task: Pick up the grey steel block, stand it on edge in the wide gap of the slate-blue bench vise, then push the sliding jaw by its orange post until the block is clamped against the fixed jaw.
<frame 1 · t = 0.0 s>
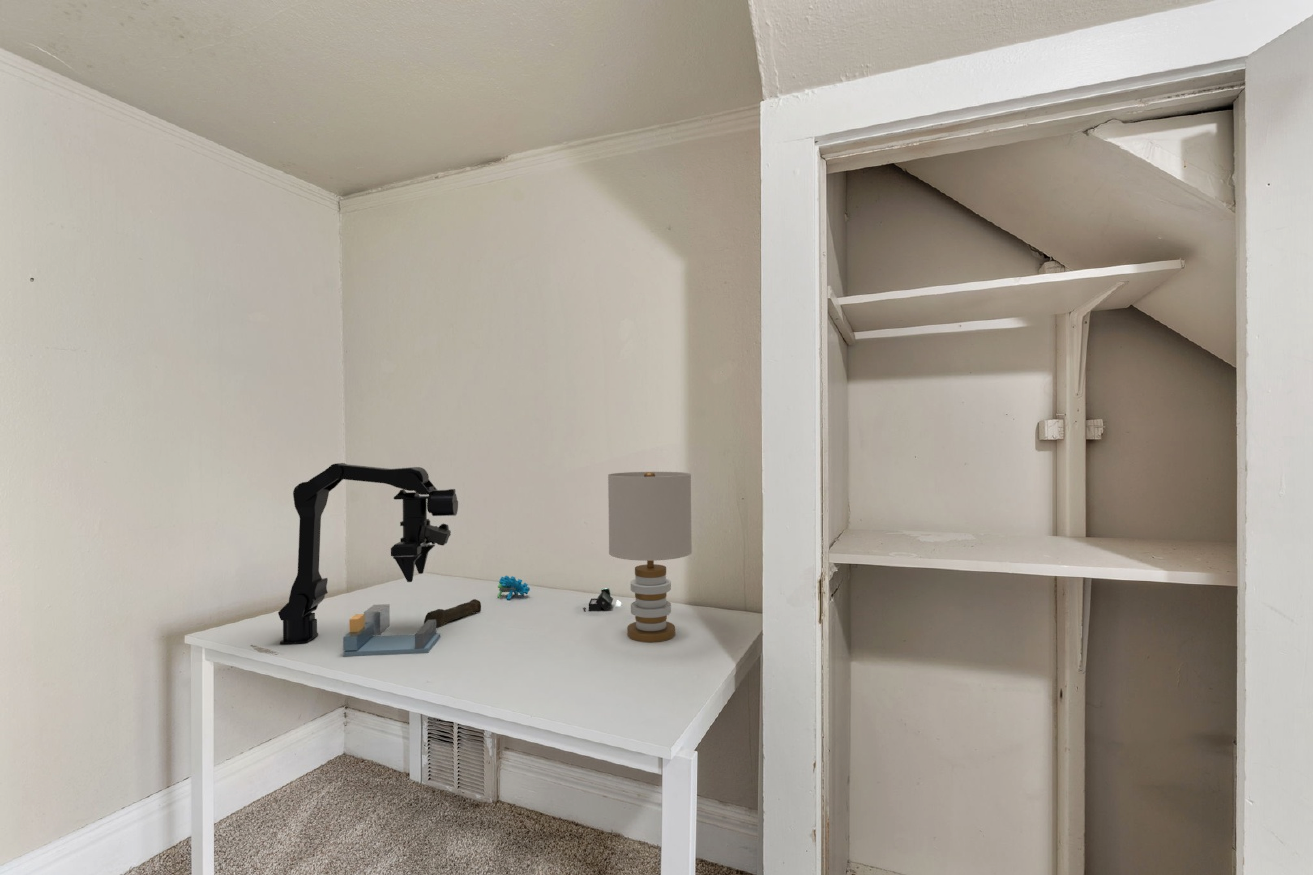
hand: (415, 577, 154), 15 cm above the table, tool pointing down, fingers open, 9 cm apart
brown wooden stick: (453, 622, 165), on the table
black angled gadget: (599, 610, 176), on the table
lamp: (651, 634, 152), on the table
steel block: (377, 631, 158), on the table
vise: (394, 646, 145), on the table
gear: (513, 598, 189), on the table
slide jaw: (359, 629, 145), point 4 cm above the table, slide at 0.0 cm
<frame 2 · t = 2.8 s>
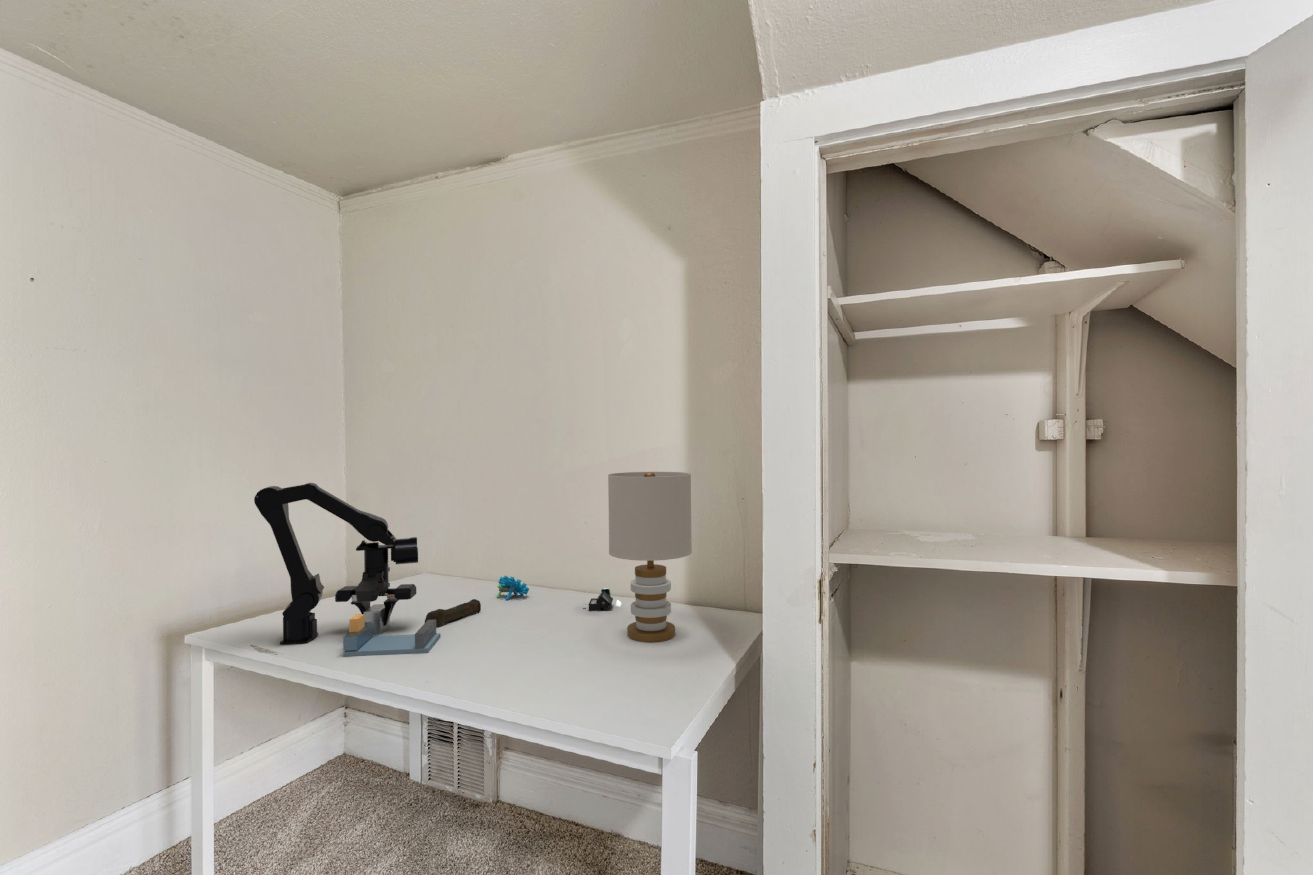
hand: (377, 625, 158), 1 cm above the table, tool pointing down, fingers closed on steel block, 4 cm apart
steel block: (377, 630, 158), on the table, touching gripper
everything else where it was.
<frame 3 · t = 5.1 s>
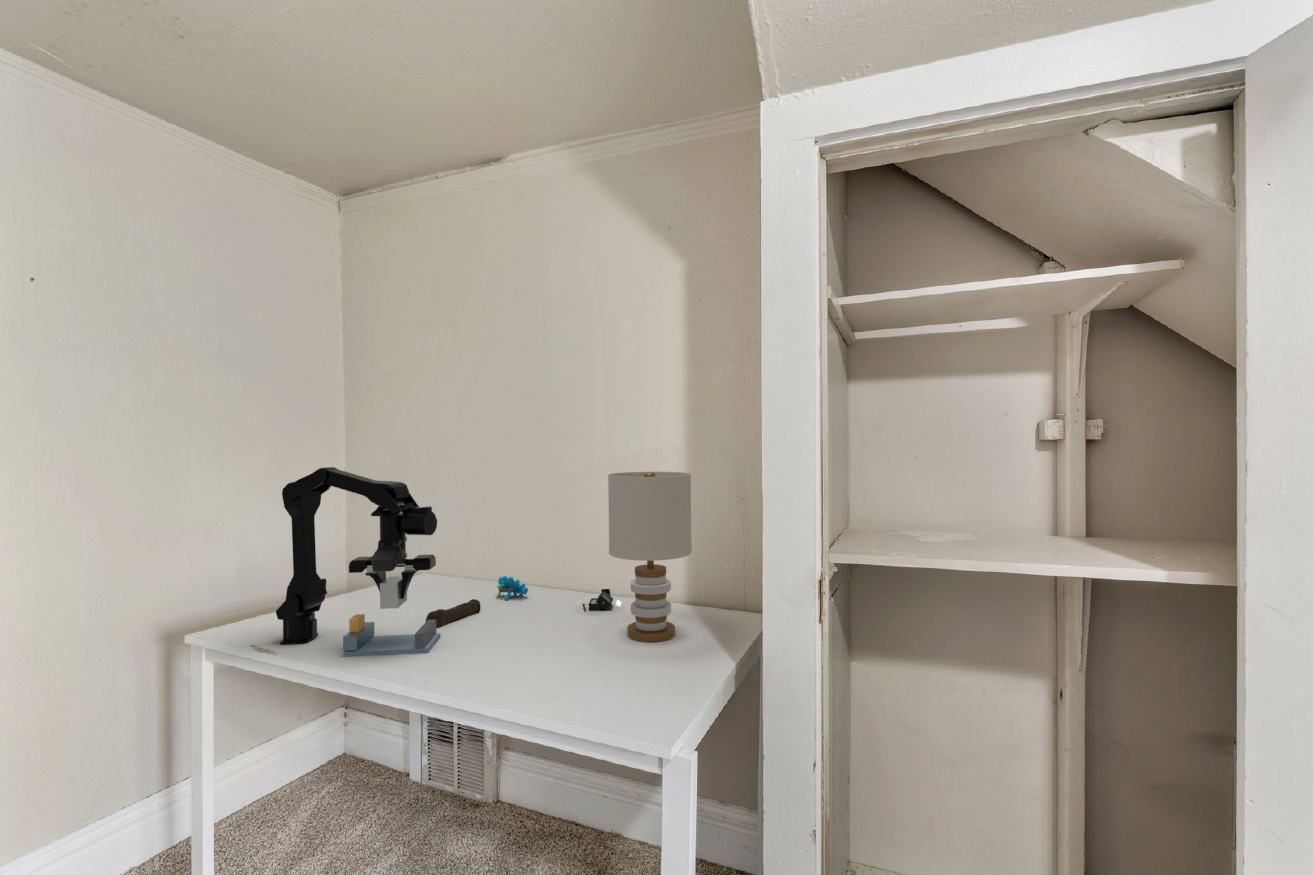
hand: (393, 598, 146), 11 cm above the table, tool pointing down, fingers closed on steel block, 4 cm apart
steel block: (393, 604, 146), point 10 cm above the table, touching gripper
everything else where it was.
when the fingers open (3 cm above the table, at t = 7.4 s): steel block stays where it is, resting on vise.
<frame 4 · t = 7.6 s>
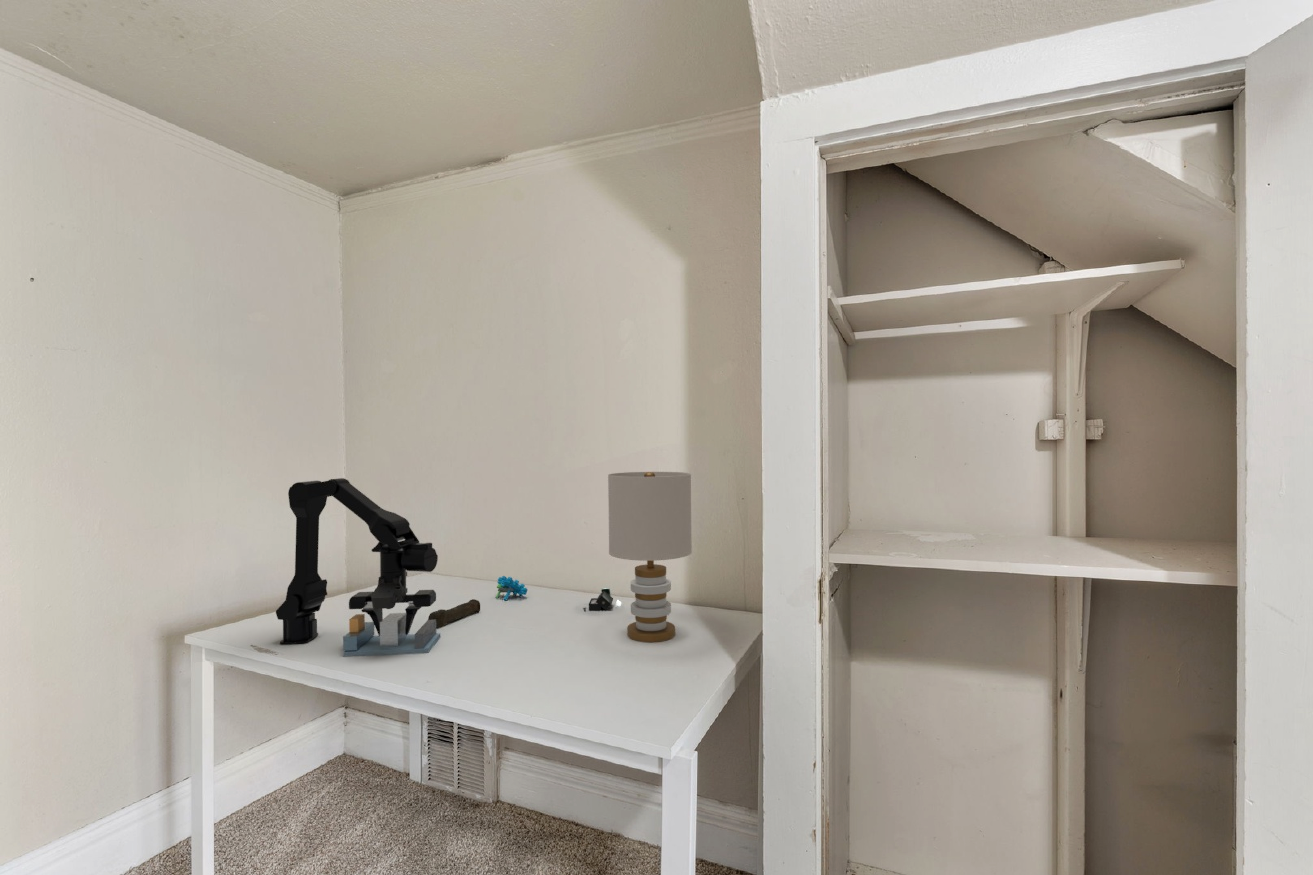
hand: (393, 634, 145), 3 cm above the table, tool pointing down, fingers open, 6 cm apart
steel block: (393, 641, 146), point 1 cm above the table, touching vise
everything else where it was.
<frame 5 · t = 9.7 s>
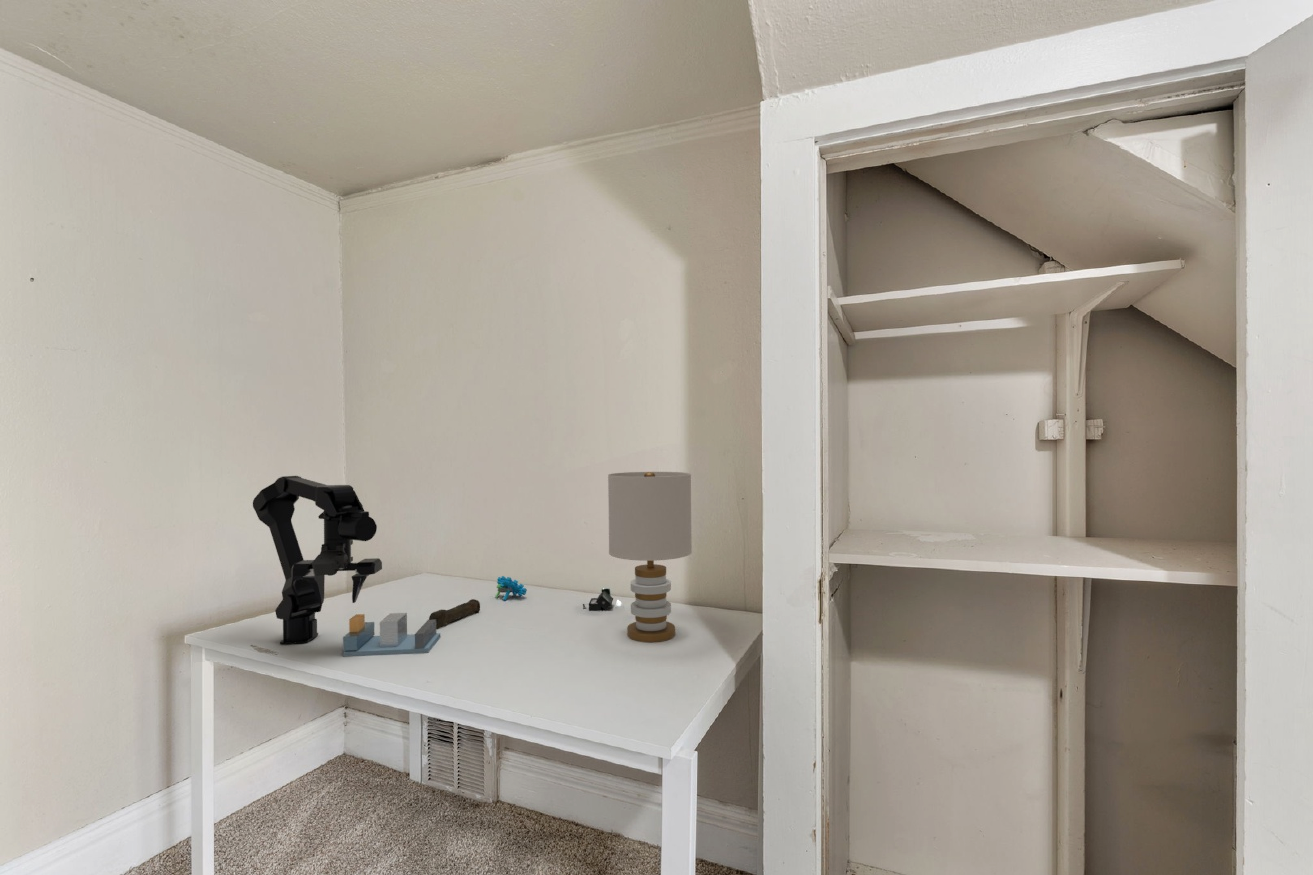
hand: (337, 603, 144), 11 cm above the table, tool pointing down, fingers open, 7 cm apart
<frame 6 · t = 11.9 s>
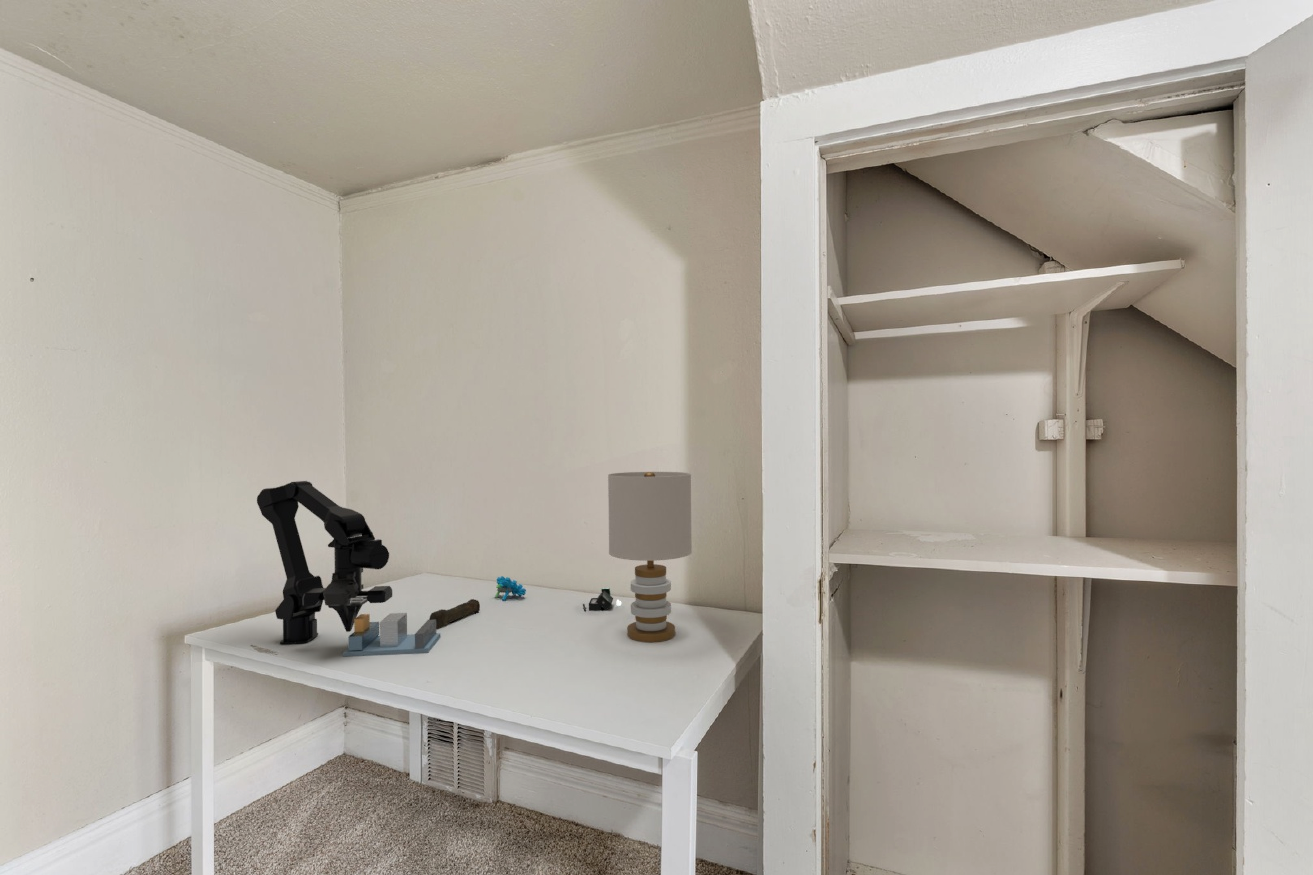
hand: (348, 631, 144), 4 cm above the table, tool pointing down, fingers closed
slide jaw: (364, 629, 145), point 4 cm above the table, slide at 1.2 cm, touching gripper
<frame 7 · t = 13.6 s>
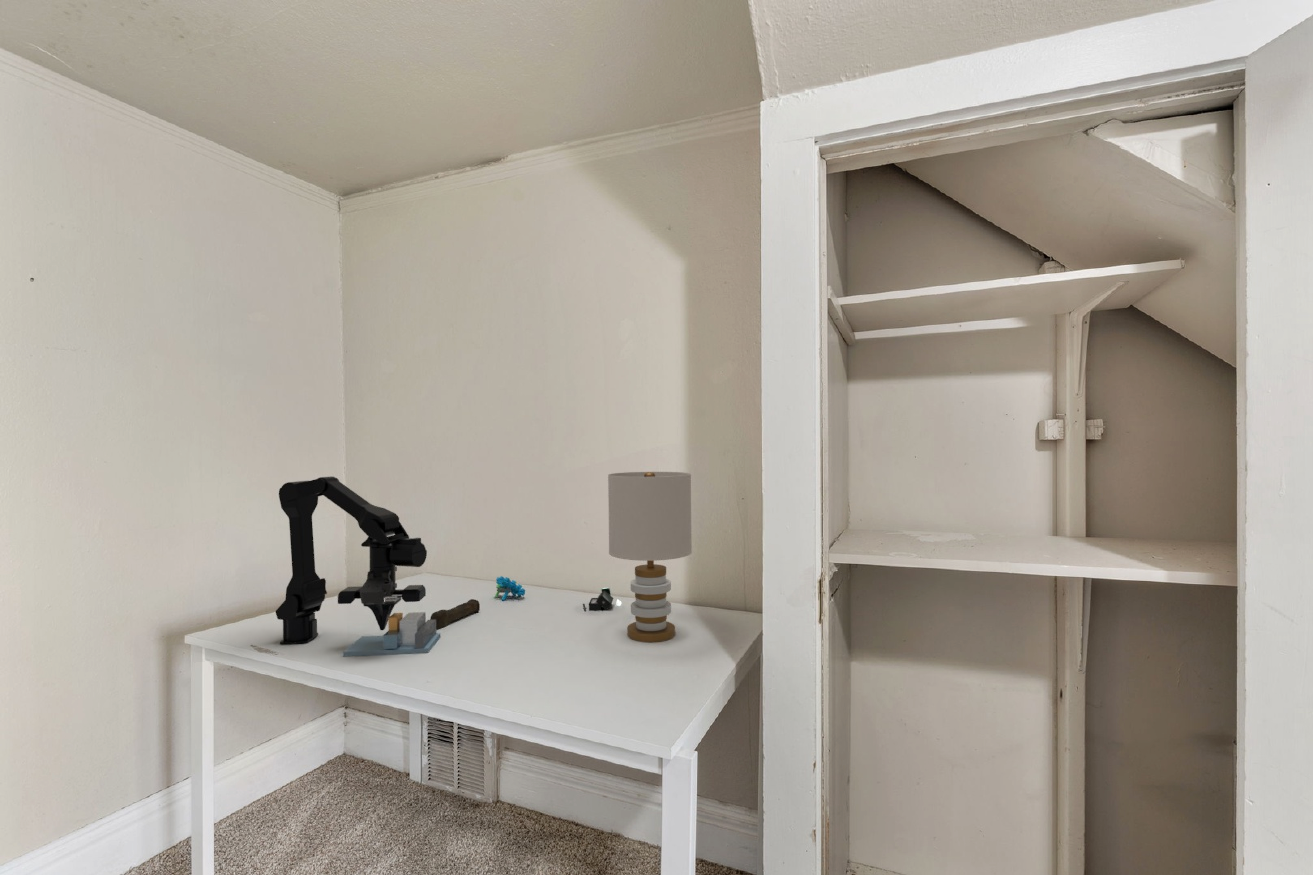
hand: (382, 629, 145), 4 cm above the table, tool pointing down, fingers closed
steel block: (413, 641, 146), point 1 cm above the table, touching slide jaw, vise
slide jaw: (397, 627, 146), point 4 cm above the table, slide at 8.9 cm, touching gripper, steel block
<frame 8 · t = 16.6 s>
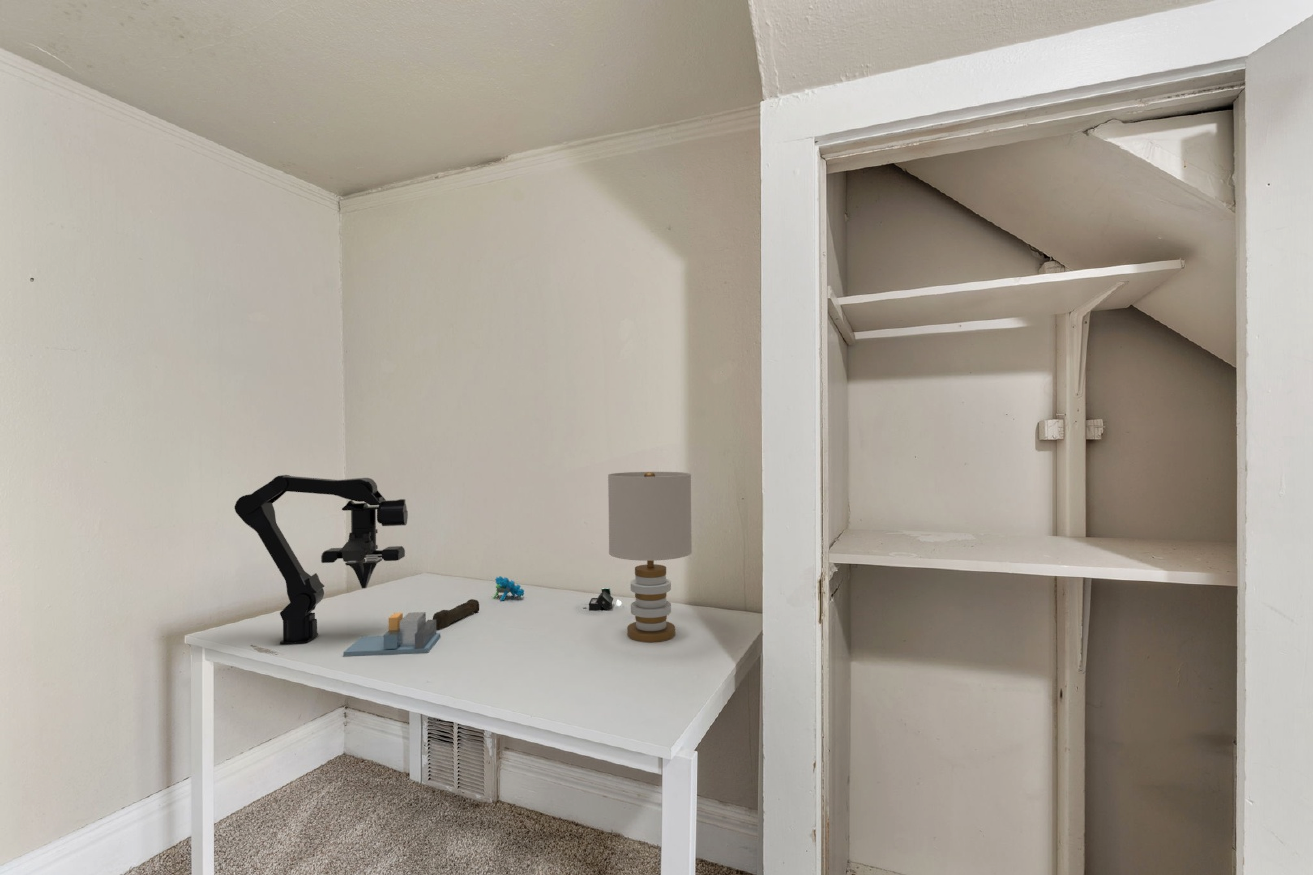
hand: (364, 587, 154), 12 cm above the table, tool pointing down, fingers closed
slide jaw: (398, 627, 146), point 4 cm above the table, slide at 9.0 cm, touching steel block
at the end: steel block 0.1 cm from the target spot on the vise, point 1.0 cm above the vise's base; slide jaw slide at 9.0 cm; steel block tilted 0° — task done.
